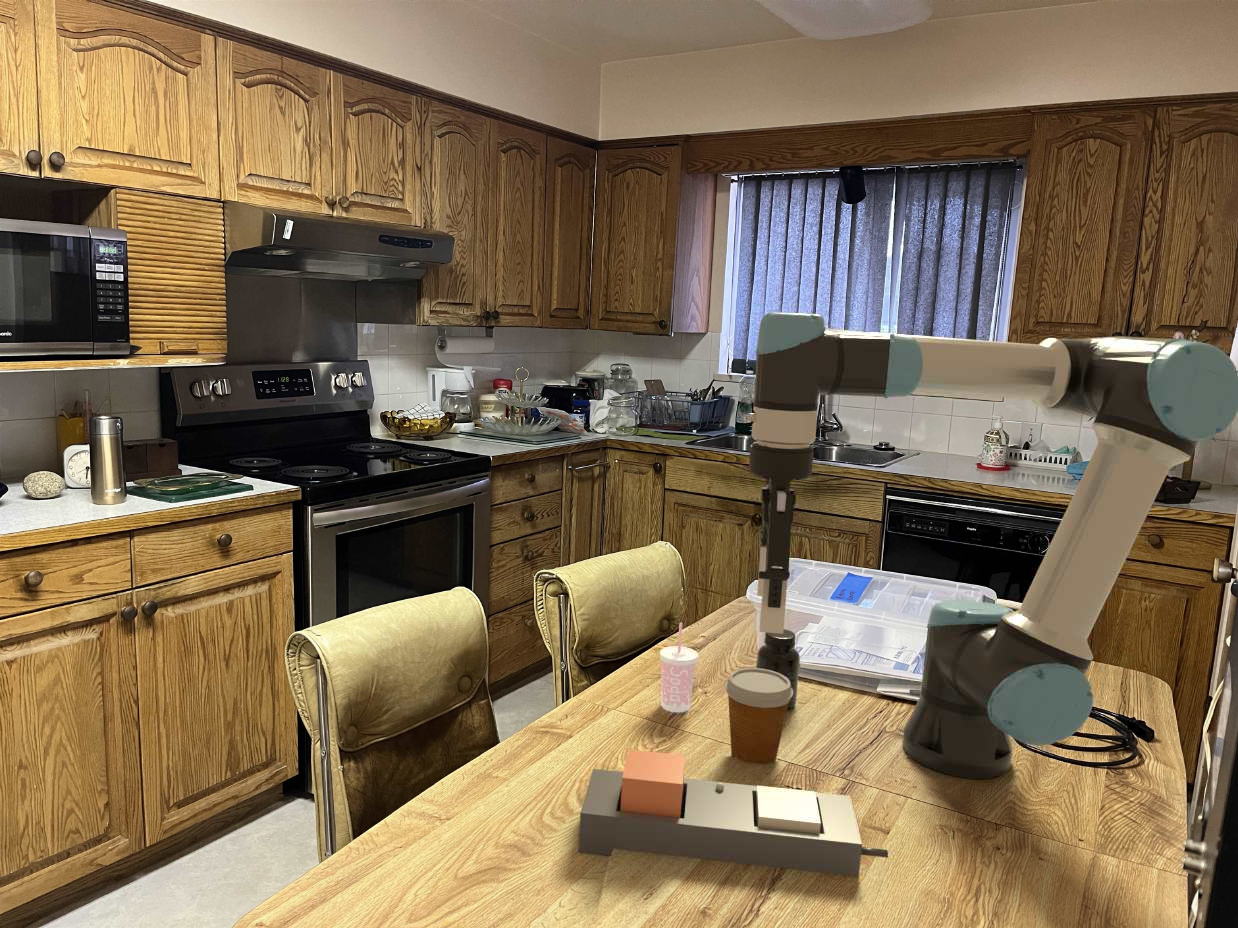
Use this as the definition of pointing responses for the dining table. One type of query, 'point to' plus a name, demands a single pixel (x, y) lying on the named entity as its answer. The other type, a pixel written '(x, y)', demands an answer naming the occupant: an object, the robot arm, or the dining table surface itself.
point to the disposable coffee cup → (757, 713)
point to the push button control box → (721, 828)
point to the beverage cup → (677, 676)
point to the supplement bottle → (781, 658)
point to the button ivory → (786, 809)
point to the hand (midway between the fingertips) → (769, 612)
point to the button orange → (653, 783)
